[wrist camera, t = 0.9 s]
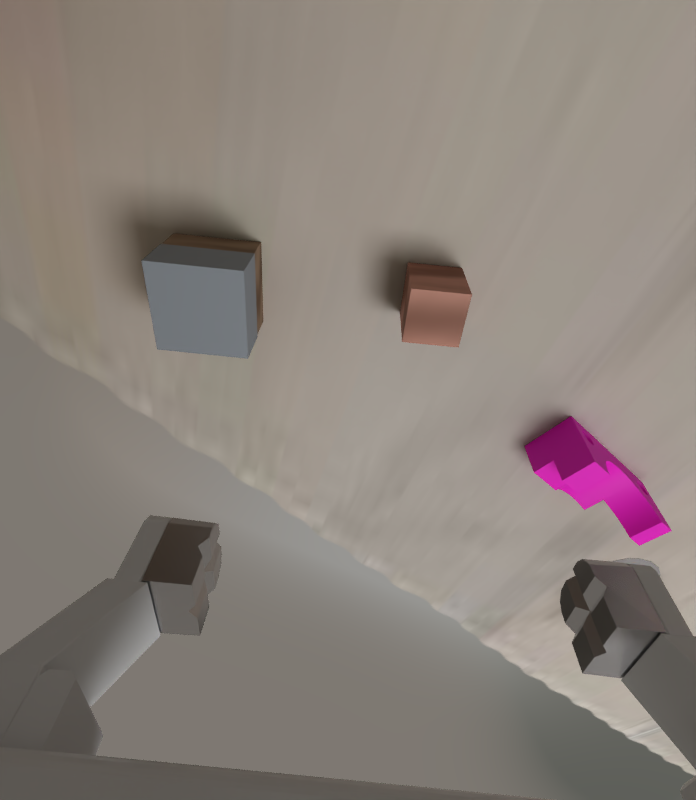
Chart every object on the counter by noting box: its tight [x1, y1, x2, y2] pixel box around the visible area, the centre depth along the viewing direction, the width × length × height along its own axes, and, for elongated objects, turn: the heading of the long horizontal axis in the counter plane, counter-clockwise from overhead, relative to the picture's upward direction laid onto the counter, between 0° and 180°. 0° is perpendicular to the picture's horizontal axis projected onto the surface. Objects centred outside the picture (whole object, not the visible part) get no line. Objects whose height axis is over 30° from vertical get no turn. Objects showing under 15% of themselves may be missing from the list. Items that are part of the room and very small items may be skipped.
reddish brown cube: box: [400, 263, 472, 347], centre depth 43 cm, size 5×5×6 cm
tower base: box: [162, 234, 263, 334], centre depth 44 cm, size 8×8×4 cm
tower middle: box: [141, 244, 257, 359], centre depth 41 cm, size 8×8×4 cm
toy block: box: [525, 416, 671, 546], centre depth 54 cm, size 15×6×8 cm, turn 49°
